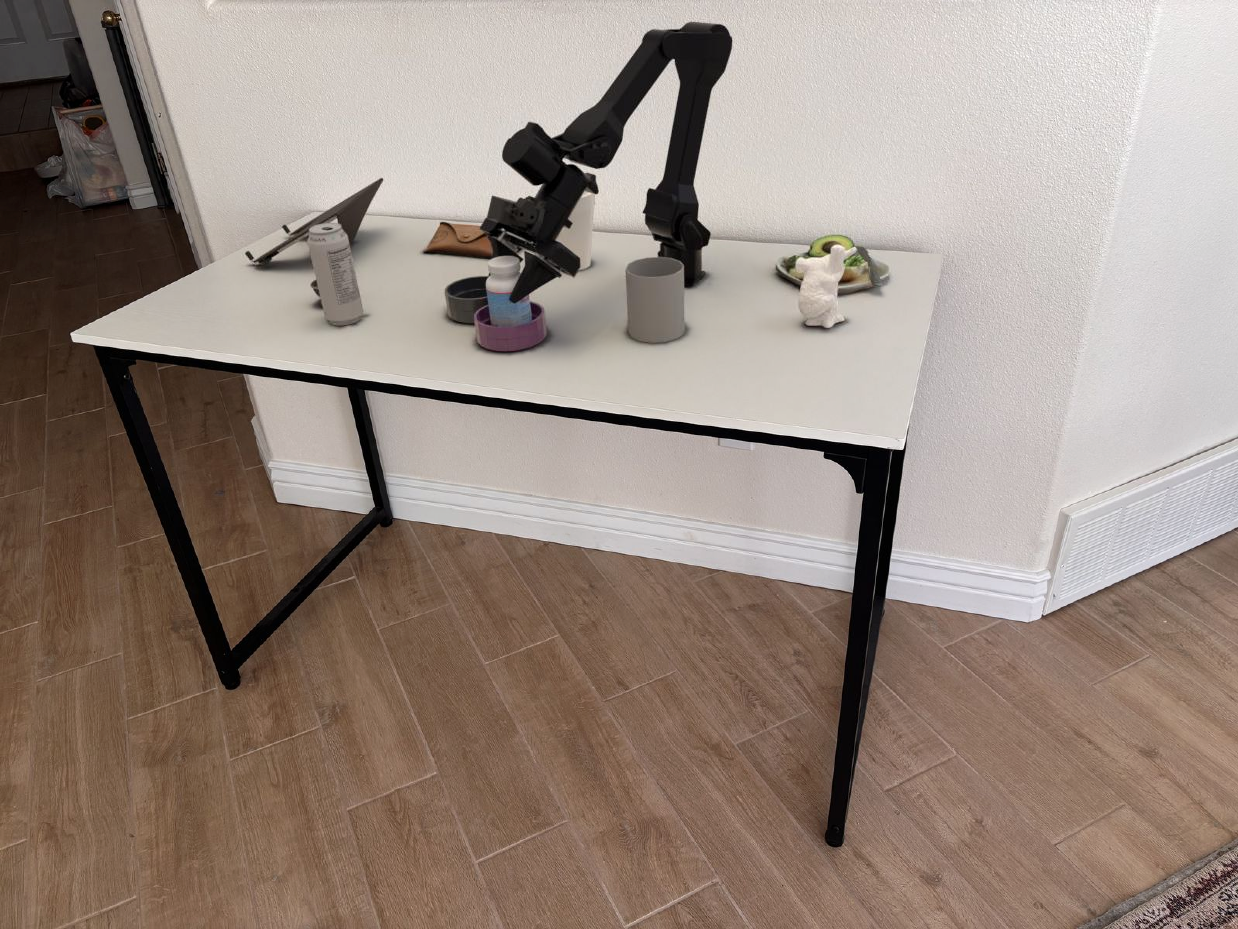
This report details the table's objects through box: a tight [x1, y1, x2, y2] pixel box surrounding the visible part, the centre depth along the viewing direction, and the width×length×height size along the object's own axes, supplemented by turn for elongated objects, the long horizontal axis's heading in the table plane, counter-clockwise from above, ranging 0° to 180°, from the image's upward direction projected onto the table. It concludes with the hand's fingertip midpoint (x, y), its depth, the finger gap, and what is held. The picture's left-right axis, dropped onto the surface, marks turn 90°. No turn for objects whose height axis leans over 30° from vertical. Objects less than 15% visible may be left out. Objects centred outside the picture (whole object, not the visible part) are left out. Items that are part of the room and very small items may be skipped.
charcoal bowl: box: [444, 275, 488, 324], centre depth 147 cm, size 10×10×4 cm
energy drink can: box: [307, 222, 364, 326], centre depth 145 cm, size 6×6×15 cm
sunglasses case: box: [422, 221, 493, 259], centre depth 174 cm, size 18×7×7 cm
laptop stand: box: [244, 177, 384, 266], centre depth 177 cm, size 23×23×9 cm
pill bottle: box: [486, 256, 532, 327], centre depth 136 cm, size 6×6×11 cm
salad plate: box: [775, 234, 891, 295], centre depth 152 cm, size 19×18×5 cm
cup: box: [624, 256, 686, 344], centre depth 136 cm, size 8×8×10 cm
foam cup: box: [556, 191, 596, 271], centre depth 161 cm, size 10×9×13 cm
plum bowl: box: [474, 300, 548, 352], centre depth 138 cm, size 10×10×4 cm
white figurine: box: [795, 245, 857, 329], centre depth 135 cm, size 8×7×12 cm
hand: (499, 296), depth 135 cm, fingers closed on pill bottle, 6 cm apart
